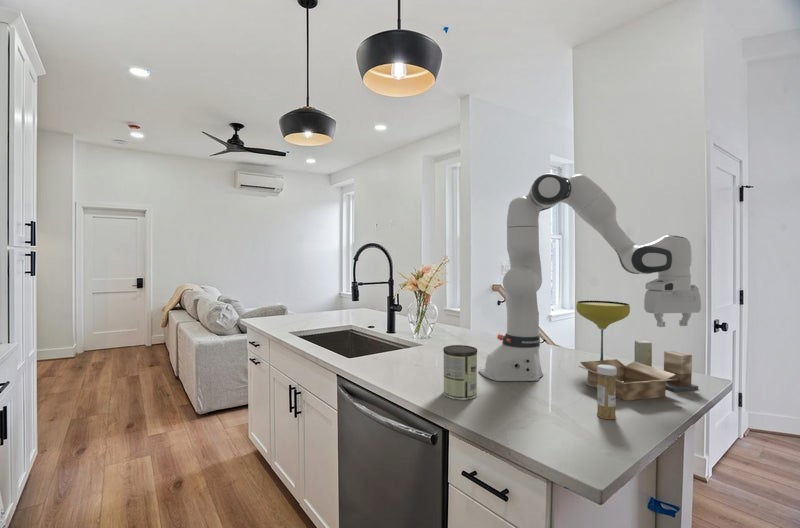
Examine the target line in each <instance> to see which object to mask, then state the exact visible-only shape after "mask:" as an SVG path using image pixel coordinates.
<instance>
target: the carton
mask: <svg viewBox="0 0 800 528" xmlns="http://www.w3.org/2000/svg"><path fill="white" fill-rule="evenodd" d="M579 364H581V365H582V366H580V365H578V367H579V368H581V369H584V370H587V385H588V384H589V385H588V386H590V385H591V387H593V388H595V387H596V388H595V389H597V384H598V372H597V366H598V365H611V366H614V367H616V368H617V375H616V398H618V399H620V398H621V399H620V400H622V399H623V401H625V400H626V401H633V400H634V401H635V400H642V399H653V398H662V397H666V391H667V389H666V381H670V380H677V379H669V378H671V377H673V376H675V374H673V373H670V372H667V371H664V369H660V368H657V367H653V366H652V367H650V366H647V365H644V364H641V363H638V362H635V361H633V362H631V363H628V364H627V365H625V364H624V363H622V362H621V361H620V360H619V359H605V360H604V359H603V360H602V361H600V360H589V361H580V363H579ZM622 381H626V382H622ZM627 382H628V383H627Z"/></svg>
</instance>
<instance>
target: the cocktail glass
mask: <svg viewBox="0 0 800 528" xmlns="http://www.w3.org/2000/svg"><path fill="white" fill-rule="evenodd" d="M575 307H576V312H577V313H578V314H579V315H580V317H583V318H584V319H586V320H589V321H590V322H592V323H593V324H595V325H596V327H597V329H599V330H600V336H601V338H600V360H599V361H602V360H604V331H605V330H606V329H607V328H608V327H609V326H610V325H612V324H613V323H617V322H619V321H621V320H622V321H623V320H624V319H626V318H627V317H628V316H629V315H630V312H631V305H630V304H629V303H626V302H620V301H610V300H579V301H577V302H576V306H575Z"/></svg>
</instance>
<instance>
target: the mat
mask: <svg viewBox="0 0 800 528" xmlns="http://www.w3.org/2000/svg"><path fill="white" fill-rule="evenodd" d="M693 389H695V390H699V385H697V384H694V383H691V386H682V387H680V386H677V385H674V384H671V383H668V382H666V390H668V391H671V392H673V391H676V392H681V391H682V392H683V391H684V390H686V391H692V390H693ZM684 392H685V391H684Z"/></svg>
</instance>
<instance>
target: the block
mask: <svg viewBox="0 0 800 528" xmlns="http://www.w3.org/2000/svg"><path fill="white" fill-rule="evenodd" d="M692 369H693V355H692V354H690V353H686V352H683V351H682V352H681V351H678V350H667V351H666V350H665V351H663V371H667V372H670V373H673V374H675V376H673V377H671V378H669V379H677V380H670V381H666V382H668V383H671V384H674V385H677V386H680V387H682V386H691V384H692V379H693V378H692V374H693V373H692V371H693V370H692Z"/></svg>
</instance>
